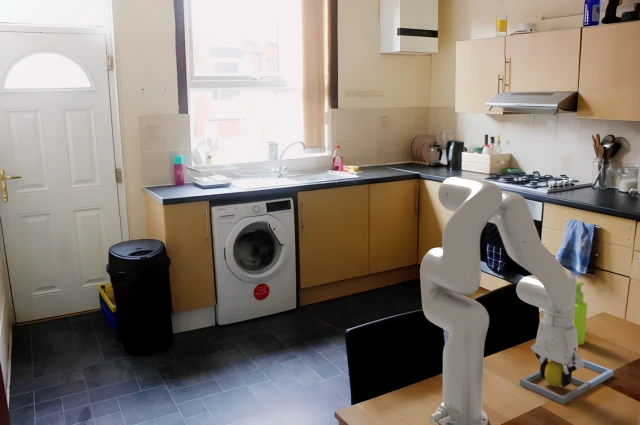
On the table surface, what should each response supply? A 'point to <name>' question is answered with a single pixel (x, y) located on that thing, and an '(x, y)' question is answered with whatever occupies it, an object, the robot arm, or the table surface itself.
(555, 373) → the lemon
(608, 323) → the table surface
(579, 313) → the soap dispenser
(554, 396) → the grey divided frame
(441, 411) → the robot arm
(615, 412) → the table surface
